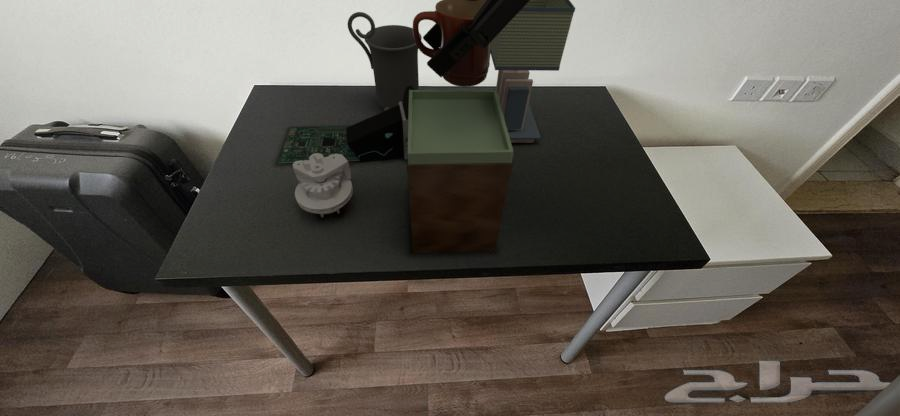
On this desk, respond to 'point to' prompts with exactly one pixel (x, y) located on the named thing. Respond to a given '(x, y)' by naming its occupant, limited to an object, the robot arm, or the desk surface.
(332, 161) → the mechanical part
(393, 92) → the mug
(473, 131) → the tray
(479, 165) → the plinth
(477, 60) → the mug
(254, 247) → the desk surface
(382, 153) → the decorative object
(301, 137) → the circuit board
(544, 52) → the desk lamp
